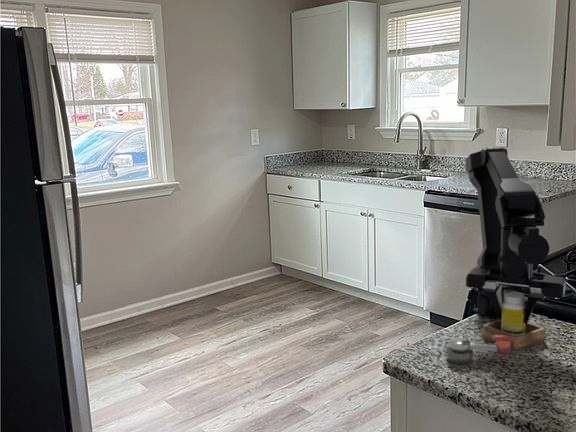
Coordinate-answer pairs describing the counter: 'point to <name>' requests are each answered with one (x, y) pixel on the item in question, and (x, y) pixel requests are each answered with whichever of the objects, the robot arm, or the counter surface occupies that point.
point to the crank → (483, 345)
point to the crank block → (459, 357)
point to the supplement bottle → (513, 314)
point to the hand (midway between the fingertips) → (513, 320)
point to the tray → (527, 340)
